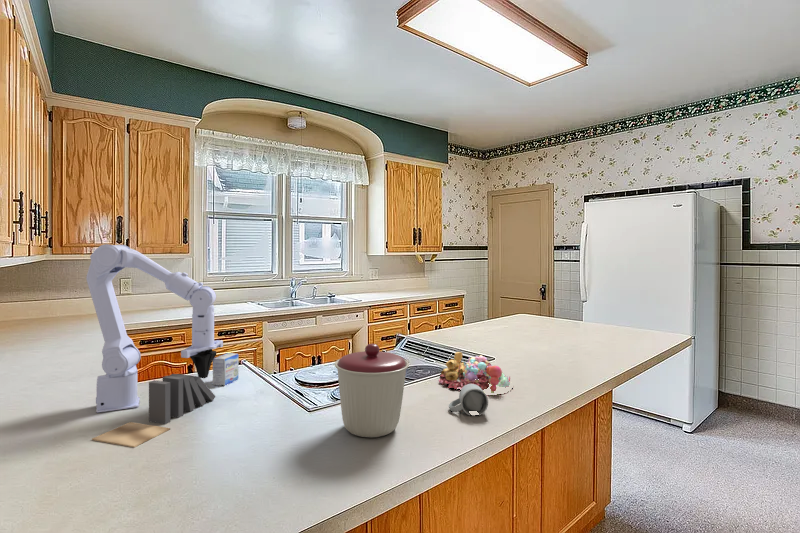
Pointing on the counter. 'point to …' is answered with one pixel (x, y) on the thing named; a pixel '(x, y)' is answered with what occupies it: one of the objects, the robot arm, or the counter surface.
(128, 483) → the counter surface
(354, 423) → the canister
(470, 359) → the candy landscape model
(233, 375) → the medicine box
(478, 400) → the ceramic mug
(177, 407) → the domino
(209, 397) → the domino
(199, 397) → the domino
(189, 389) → the domino
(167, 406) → the domino
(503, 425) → the counter surface
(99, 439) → the cork pad
